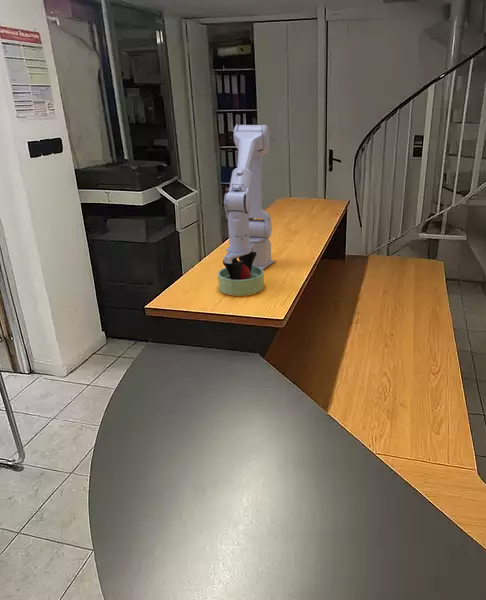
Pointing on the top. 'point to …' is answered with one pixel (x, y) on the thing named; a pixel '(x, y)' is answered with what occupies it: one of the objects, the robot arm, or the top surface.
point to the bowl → (241, 283)
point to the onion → (245, 272)
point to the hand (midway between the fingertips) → (241, 279)
